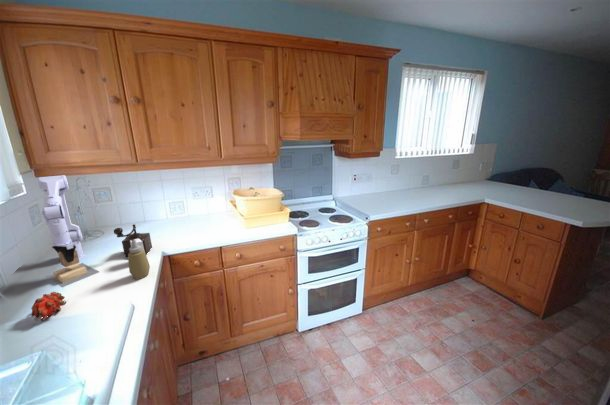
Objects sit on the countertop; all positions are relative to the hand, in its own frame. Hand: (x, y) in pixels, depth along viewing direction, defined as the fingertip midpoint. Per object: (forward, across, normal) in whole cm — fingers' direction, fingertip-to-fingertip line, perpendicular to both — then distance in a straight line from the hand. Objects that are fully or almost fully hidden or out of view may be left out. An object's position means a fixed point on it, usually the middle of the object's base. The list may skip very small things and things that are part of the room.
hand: (67, 260), depth 118 cm
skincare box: (+9, +15, +23) cm, 29 cm away
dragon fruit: (+9, +25, -16) cm, 31 cm away
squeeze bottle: (+9, +28, +16) cm, 33 cm away
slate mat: (+8, -1, +1) cm, 8 cm away
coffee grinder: (+9, +4, +27) cm, 28 cm away
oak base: (+8, 0, 0) cm, 8 cm away
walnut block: (+2, 0, 0) cm, 2 cm away
